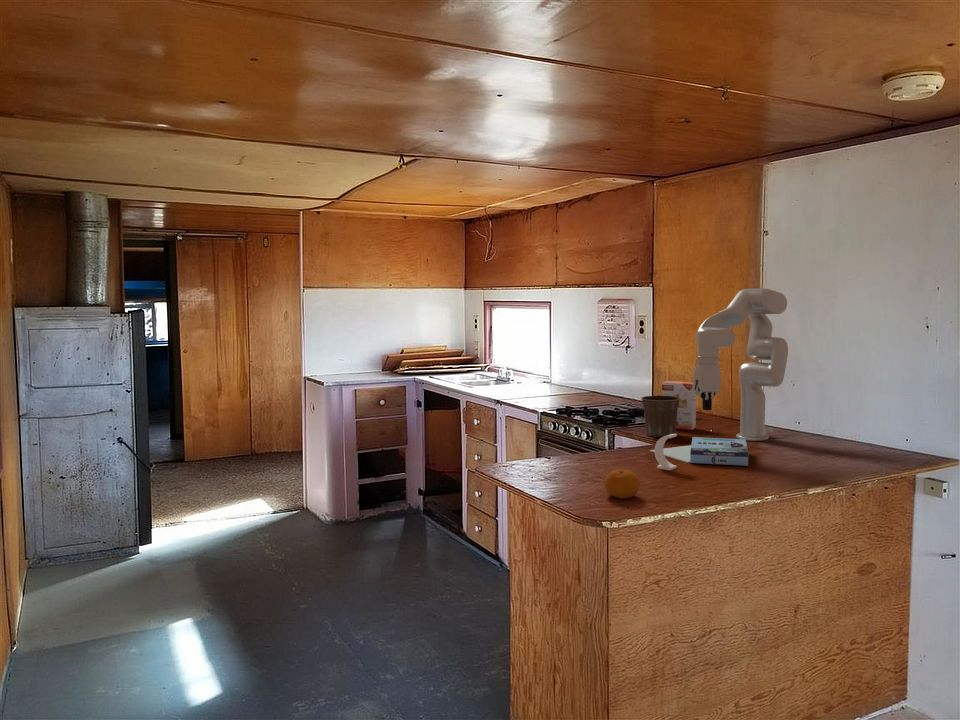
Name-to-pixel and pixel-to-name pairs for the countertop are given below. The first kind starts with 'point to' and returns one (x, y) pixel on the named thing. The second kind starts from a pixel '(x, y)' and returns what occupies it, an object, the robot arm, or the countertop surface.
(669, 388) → the cracker box
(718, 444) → the gum box
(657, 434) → the plant pot
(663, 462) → the headphone stand
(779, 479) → the countertop surface
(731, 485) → the countertop surface
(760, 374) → the robot arm
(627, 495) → the fruit
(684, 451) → the mat
